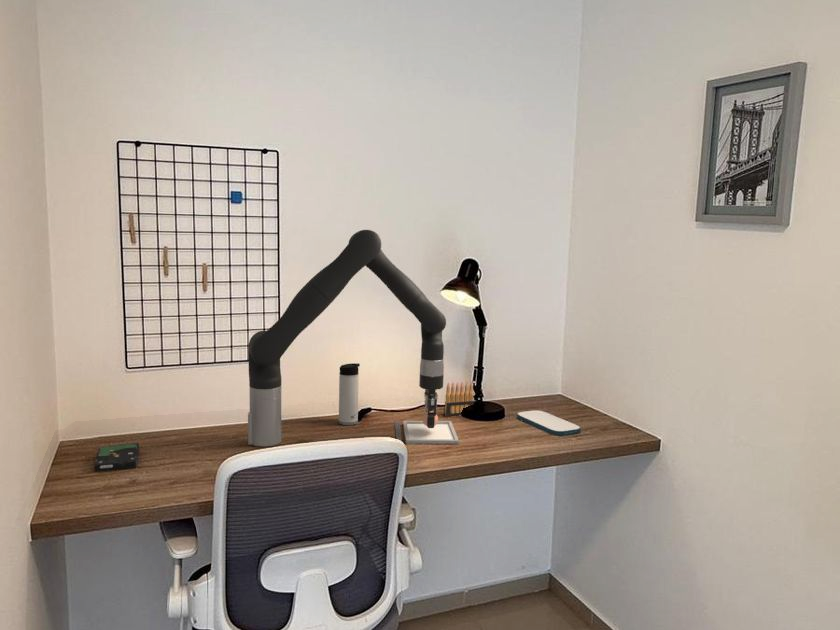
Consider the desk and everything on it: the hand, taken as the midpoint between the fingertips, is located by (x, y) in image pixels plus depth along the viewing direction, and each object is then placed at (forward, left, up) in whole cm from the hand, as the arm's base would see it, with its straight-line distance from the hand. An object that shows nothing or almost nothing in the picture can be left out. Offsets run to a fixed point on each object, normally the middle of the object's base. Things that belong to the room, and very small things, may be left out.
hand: (429, 424), depth 211 cm
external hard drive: (+41, +11, -4) cm, 43 cm away
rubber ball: (0, 0, -1) cm, 1 cm away
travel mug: (-26, +11, -3) cm, 28 cm away
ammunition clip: (+12, +21, -3) cm, 24 cm away
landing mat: (-1, 0, -3) cm, 3 cm away
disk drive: (-87, -25, -4) cm, 91 cm away
